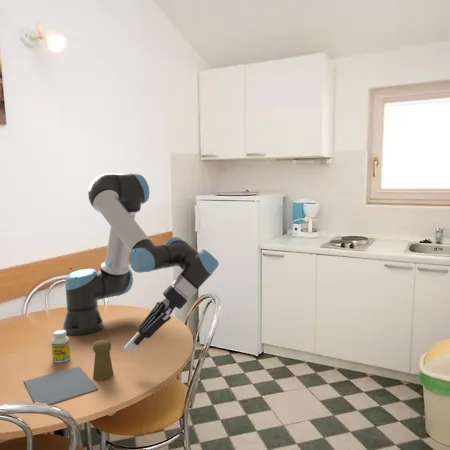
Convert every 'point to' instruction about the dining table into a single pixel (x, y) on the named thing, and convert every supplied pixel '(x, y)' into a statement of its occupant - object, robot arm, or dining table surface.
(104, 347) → the cork
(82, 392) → the mat
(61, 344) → the supplement bottle
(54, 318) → the dining table surface
